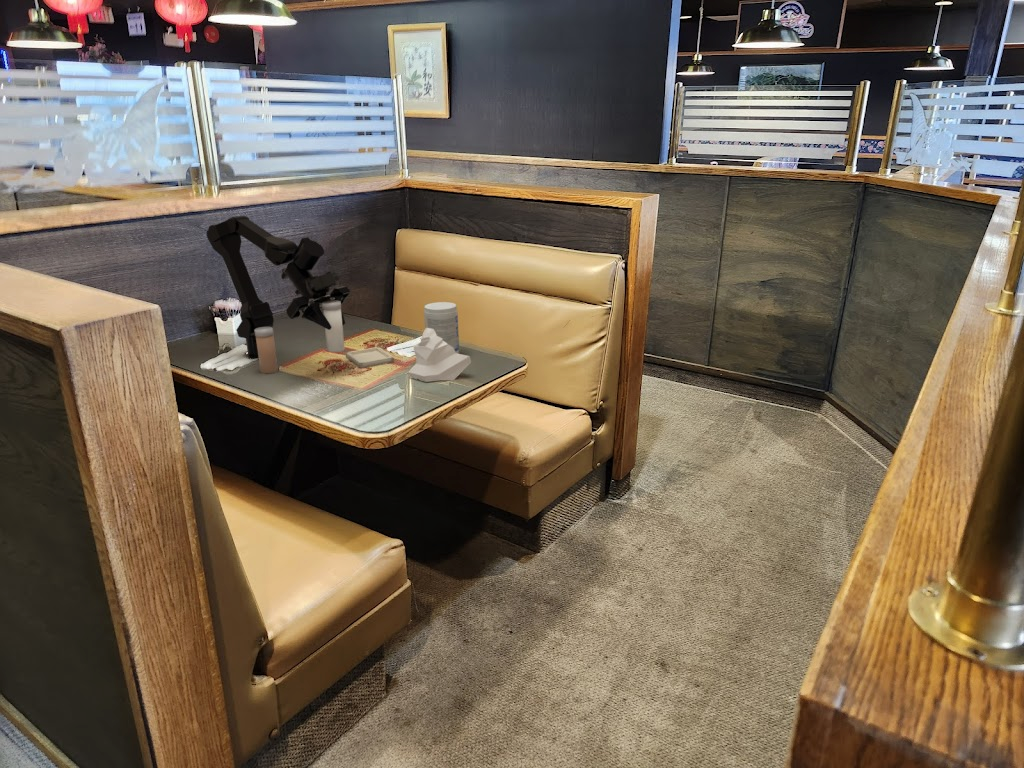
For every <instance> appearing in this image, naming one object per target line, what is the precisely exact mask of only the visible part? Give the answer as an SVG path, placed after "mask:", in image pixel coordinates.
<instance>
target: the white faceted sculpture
mask: <svg viewBox="0 0 1024 768" xmlns="http://www.w3.org/2000/svg"><path fill="white" fill-rule="evenodd" d="M419 340H420V341H419V342H418V343H417V344H415V345H414V346H413V351H414V355H415V358H416V359H415V360H416V361H415V363H414V365H413V366H412V367H411V368H410V370H409V371H407V372H408V376H409V378H410V377H412V378H411V379H413V378H415V379H414V380H417V379H419V380H418V381H421V382H425V383H428V382H436V381H454V380H456V379H457V377H458V376H459V375H460V374H461V373H462V372H464V370H465V369H466V368H467V367H468V366H469V365H470V364H471V363H472V360H471V357H470V355H466V354H462V353H456V352H455V350H454V348H453V347H452V346H450V345H448V344H447V343H446V342H444V341H443V339H442V338H440V337H438V336H437V335H436V332H435V331H434V329H431V328H426V329H424V330H423V333H422V336H420V337H419Z"/></svg>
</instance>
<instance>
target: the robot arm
mask: <svg viewBox="0 0 1024 768" xmlns="http://www.w3.org/2000/svg"><path fill="white" fill-rule="evenodd" d="M242 237H243V238H244V239H246V240H247V241H249V242H250V243H252V244H253V245H254V246H256V247H258V248H259V249H260V250H262V251H263V253H264V256H265V258H266V259H267V260H268V261H269V262H270V263H271V264H273V265H274V266H284V265H286V267H285V268H282V269H281V271H282V273H281V280H285V279H288V280H289V281H290V282H291V284H292V285H293V286H294V287H295V289H296V290H295V291H294V293H295V294H296V296H299V297H295V298H292V300H291V302H290V303H289V305H288V306H287V308H286V315H287V316H288V318H290V319H291V320H293V319H297V318H299V317H300V316H301V318H302V319H305V320H308V321H311V322H313V323H315V324H317V325H319V326H321V327H322V328H324V329H325V328H326V329H328V330H330V329H331V325H330V323H329V322H328V320H327V319H326V317H325V316H324V314H323V311H322V309H321V307H320V305H321V306H322V302H324V301H329V300H338V301H340V302H341V306H342V305H343V304H344V303H345V302H346V301H347V298H349V296H350V295H351V293H352V292H351V290H350V289H349V287H347V286H346V285H342V286H338V287H334V288H333V289H332V291H331V289H330V288H331V287H333V286H336V285H337V284H338V283H337V282H339V281H340V277H339V275H338V273H337V272H336V270H334V269H331V270H328V271H326V272H325V273H324V274H321V275H314V274H313V273H312V272H311V271H312V270H314V269H315V268H316V267H317V265H318V264H319V262H320V260H321V259H322V257H323V256H324V254H325V249H324V247H323V245H321V244H320V243H318V242H317V241H315V240H311V239H310V238H309V237H302V238H301V239H300V241H299V244H298V245H297V244H296V243H295V242H294V241H292V240H289V239H286V238H282V237H277V236H275V235H273V234H272V233H270V232H268V231H267V230H265V229H264V228H262V227H261V226H260V225H258V224H256V223H255V222H253V221H252V220H250V219H249V217H248V216H245V215H239V216H231V217H230V218H228V219H226V220H225V221H222V222H220V223H217V224H210V225H209V226H208V229H207V231H206V238H207V239H208V241H209V243H210V245H211V247H212V249H213V250H214V251H215V252H216V253H217V254H219V255H220V256H221V257H222V259H223V261H224V263H225V264H224V265H225V266H226V269H227V271H228V273H229V276H230V279H231V281H232V283H233V287H234V289H235V291H236V294H237V296H238V298H239V301H240V304H241V307H240V313H239V317H240V320H241V321H240V323H239V325H238V326H237V329H236V334H237V337H239V338H243V339H245V342H246V344H245V345H246V350H247V351H248V354H247V355H246V357H247V356H248V357H249V358H251V359H256V358H259V356H258V349H257V342H256V336H255V329H256V328H259V327H272V328H273V329H274V322H275V320H274V313H273V311H272V310H271V307H270V304H269V302H267V301H264V302H263V301H262V299H260V298H259V296H258V293H257V291H256V288H255V285H254V283H253V281H252V277H251V276H250V273H249V271H248V269H247V266H246V264H245V261H244V259H243V256H242V254H241V246H242ZM330 291H331V292H330ZM329 292H330V294H327V293H329ZM300 311H301V312H302V315H301V312H300ZM341 315H342V326H344V325H345V324H346V320H345V317H344V313H343V309H342V308H341ZM247 351H246V352H247ZM248 357H247V358H248ZM249 358H248V359H249Z"/></svg>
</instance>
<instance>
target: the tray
mask: <svg viewBox="0 0 1024 768" xmlns="http://www.w3.org/2000/svg"><path fill="white" fill-rule="evenodd" d="M345 358H346V359H348V360H349V361H350V362H352V363H353V364H354V365H356V366H357V367H358V368H359V369H365V368H370V366H371V367H376V366H380V364H381V365H386V364H385V363H387V364H392V363H395V357H394V356H393V355H391V354H390V353H388V352H387V351H385V350H384V349H382V348H381V347H380V346H374V347H370V348H363V349H358V350H357V349H356V350H353V351H347V352H345ZM391 362H392V363H391ZM375 365H376V366H375Z"/></svg>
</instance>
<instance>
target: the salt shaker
mask: <svg viewBox="0 0 1024 768" xmlns="http://www.w3.org/2000/svg"><path fill="white" fill-rule="evenodd" d="M321 306H322V308H321V310H322V313H323V314H324V316H325V317H326V319H327V320H328V322H329V323H330V325H331V329H330V330H328V329H326V328H324V331H325V342H326V351H327V352H329V353H339V352H343V351H345V339H344V328H343V326H344V325H342V315H341V309H342V305H341V302H340V301H338V300H329V301H324V302H322V304H321Z"/></svg>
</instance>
